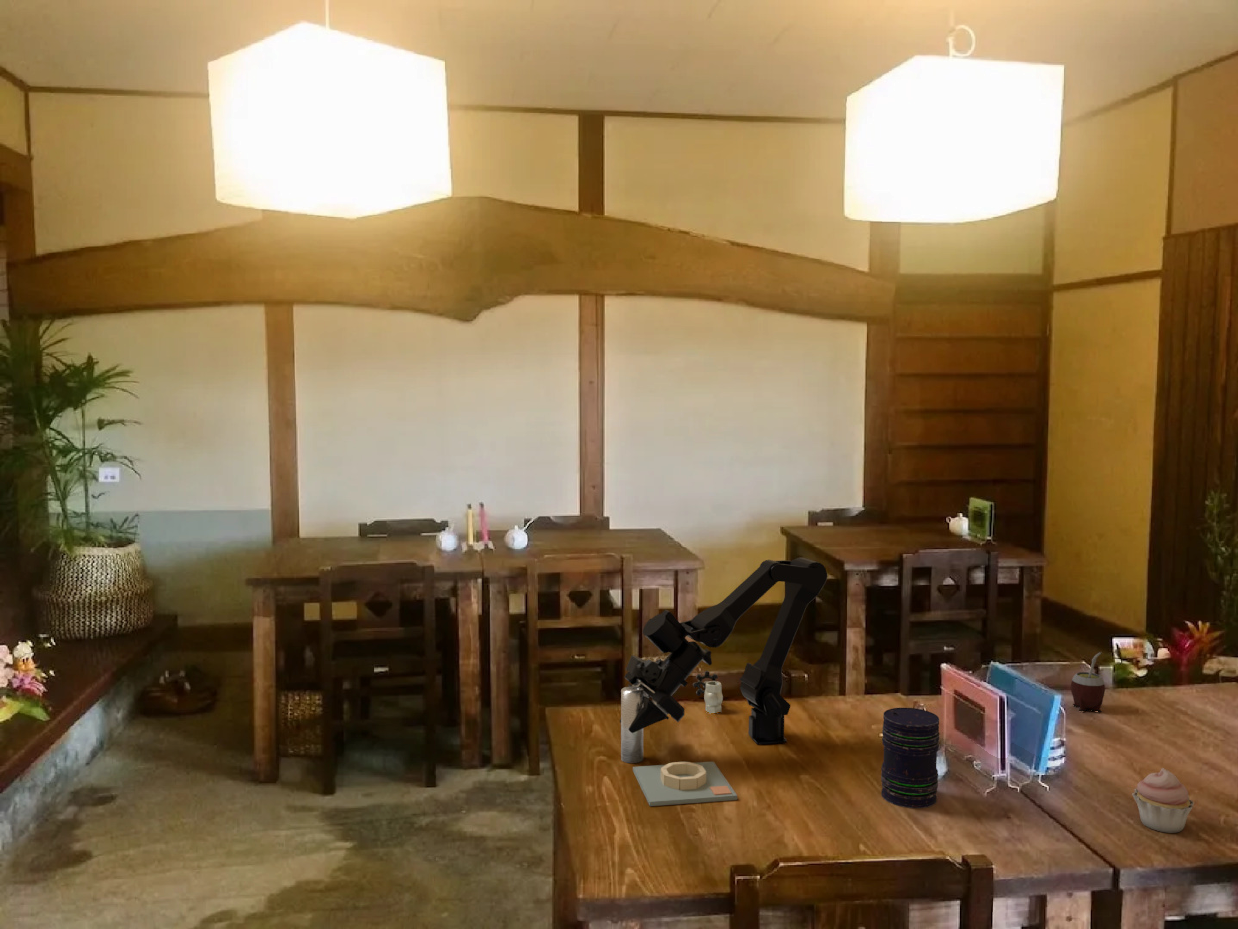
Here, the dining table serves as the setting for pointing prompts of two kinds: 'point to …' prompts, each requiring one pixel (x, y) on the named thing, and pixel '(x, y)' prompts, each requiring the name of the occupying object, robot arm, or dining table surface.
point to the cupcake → (1163, 802)
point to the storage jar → (910, 757)
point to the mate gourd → (1088, 689)
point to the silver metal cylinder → (629, 712)
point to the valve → (710, 692)
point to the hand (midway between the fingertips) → (625, 727)
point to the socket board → (683, 783)
